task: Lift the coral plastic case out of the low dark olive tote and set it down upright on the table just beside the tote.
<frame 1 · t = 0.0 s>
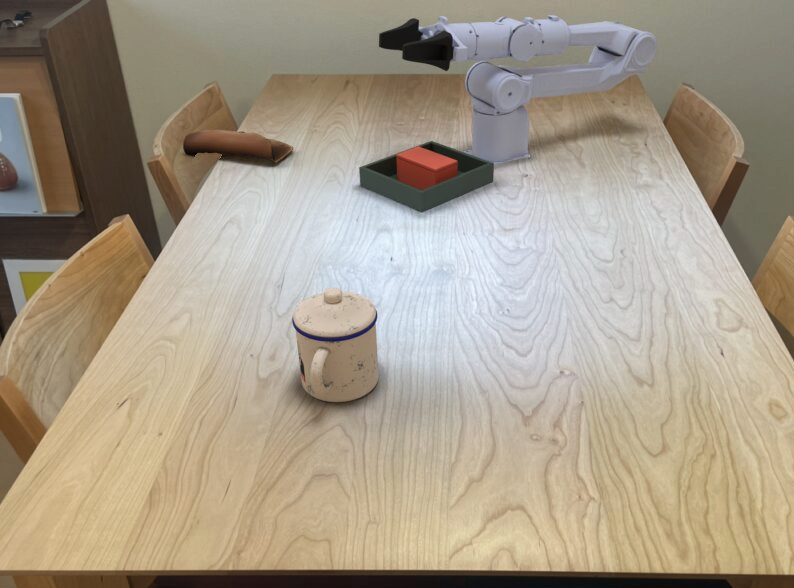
hand: (391, 46, 134), 22 cm above the table, tool horizontal, fingers open, 7 cm apart
sunglasses case: (240, 154, 156), on the table
tote: (427, 186, 144), on the table
teacup with lid: (336, 389, 98), on the table
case: (427, 183, 143), resting on tote
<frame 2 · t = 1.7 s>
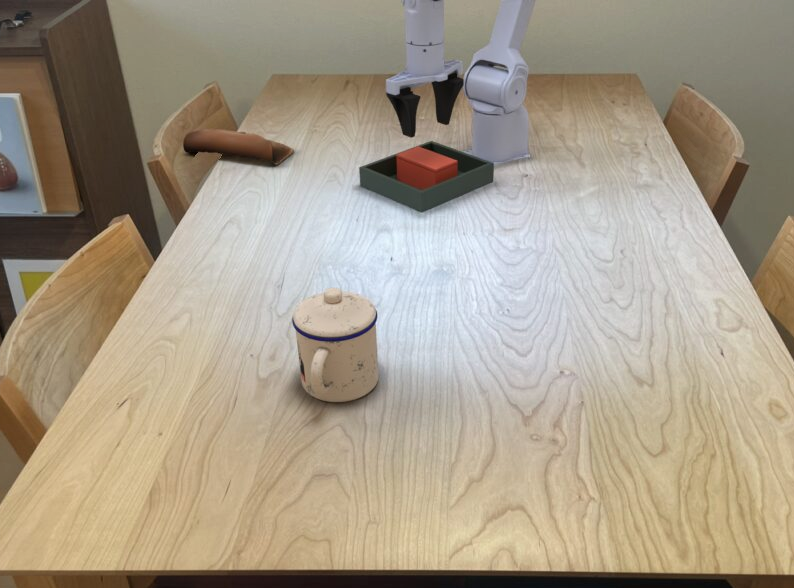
hand: (426, 129, 138), 10 cm above the table, tool pointing down, fingers open, 7 cm apart
nothing on the table moved.
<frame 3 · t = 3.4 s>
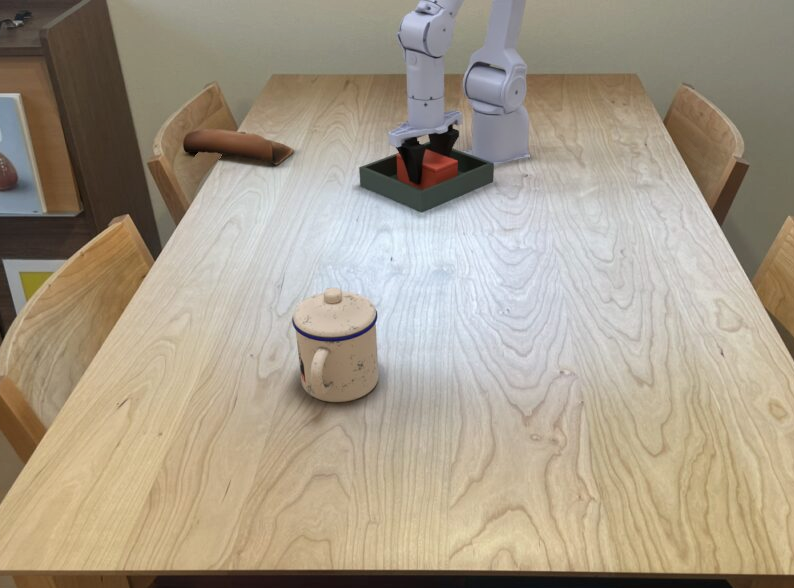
hand: (427, 177, 143), 2 cm above the table, tool pointing down, fingers closed on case, 5 cm apart
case: (427, 183, 143), resting on tote, touching gripper
everything else where it was.
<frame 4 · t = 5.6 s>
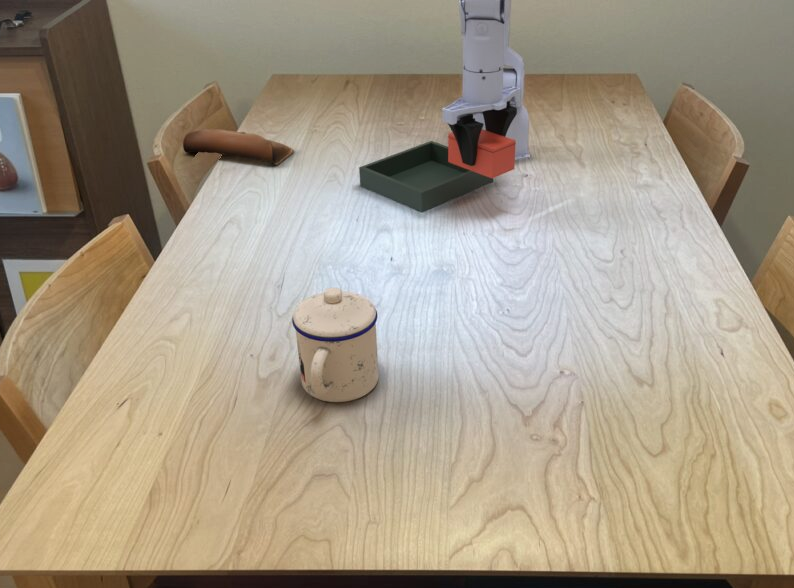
hand: (481, 158, 131), 8 cm above the table, tool pointing down, fingers closed on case, 5 cm apart
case: (481, 165, 132), point 7 cm above the table, touching gripper
everything else where it was.
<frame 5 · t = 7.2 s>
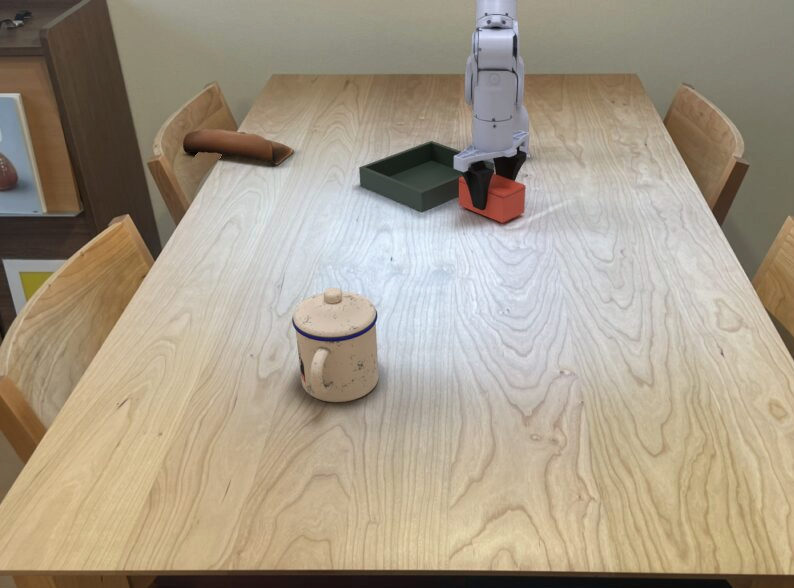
hand: (491, 202, 133), 2 cm above the table, tool pointing down, fingers closed on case, 5 cm apart
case: (491, 208, 134), point 1 cm above the table, touching gripper
everything else where it was.
when the fingers open (1 cm above the table, at t = 8.0 s): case stays where it is, on the table.
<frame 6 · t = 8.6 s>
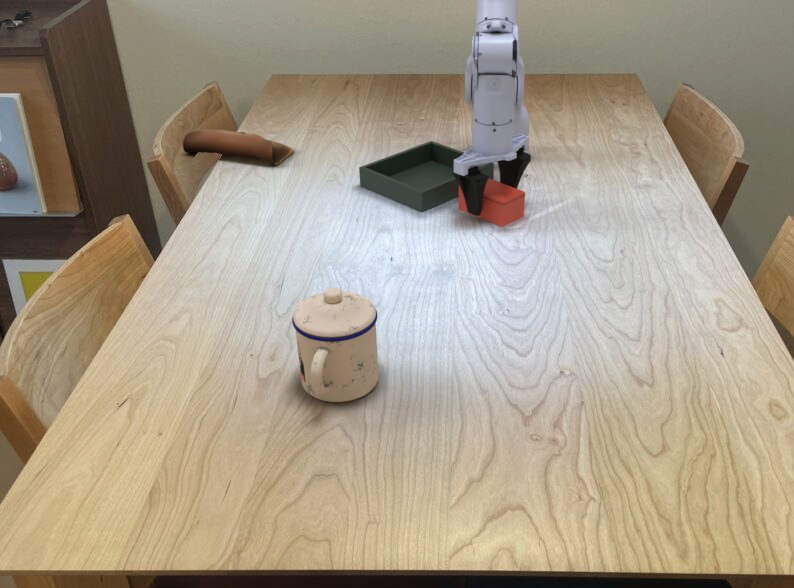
hand: (491, 205, 134), 2 cm above the table, tool pointing down, fingers open, 7 cm apart
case: (490, 215, 135), on the table
everything else where it was.
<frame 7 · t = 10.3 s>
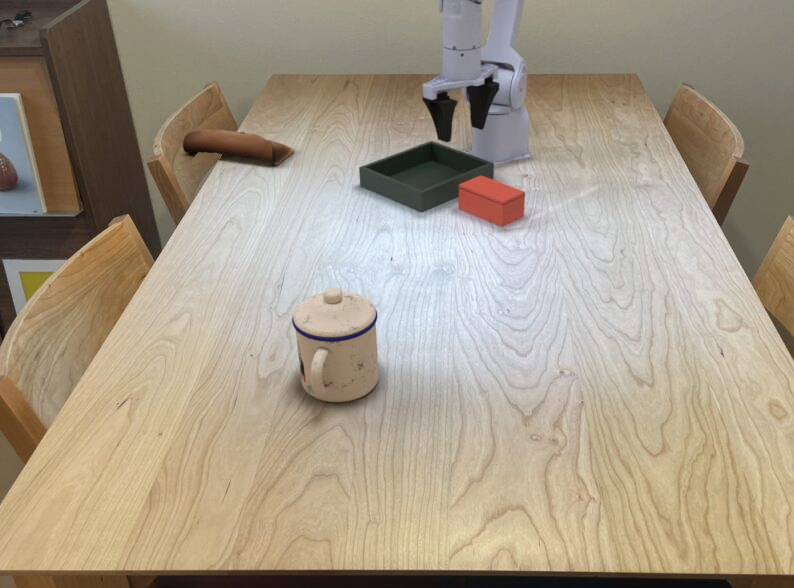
hand: (461, 134, 137), 9 cm above the table, tool pointing down, fingers open, 7 cm apart
nothing on the table moved.
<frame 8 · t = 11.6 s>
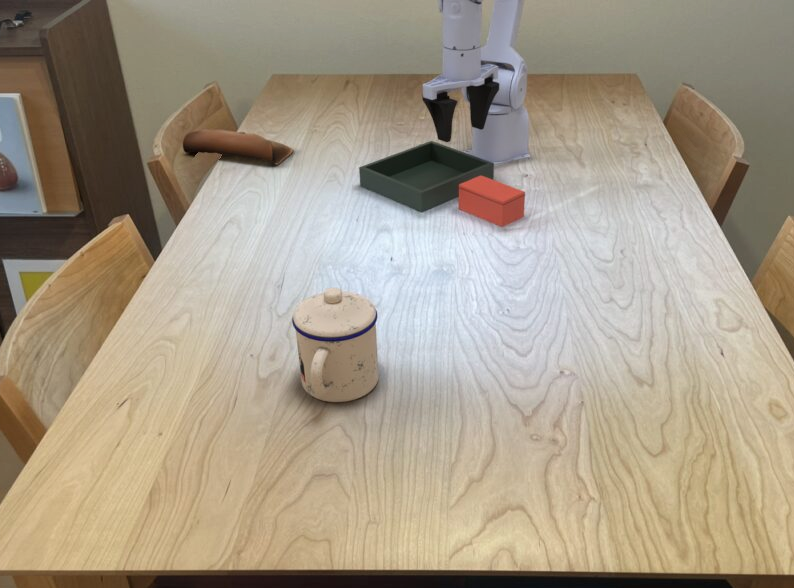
hand: (461, 134, 137), 9 cm above the table, tool pointing down, fingers open, 7 cm apart
nothing on the table moved.
at the end: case inside the target area (0.0 cm from its centre), on the table; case touching table; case tilted 0° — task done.
